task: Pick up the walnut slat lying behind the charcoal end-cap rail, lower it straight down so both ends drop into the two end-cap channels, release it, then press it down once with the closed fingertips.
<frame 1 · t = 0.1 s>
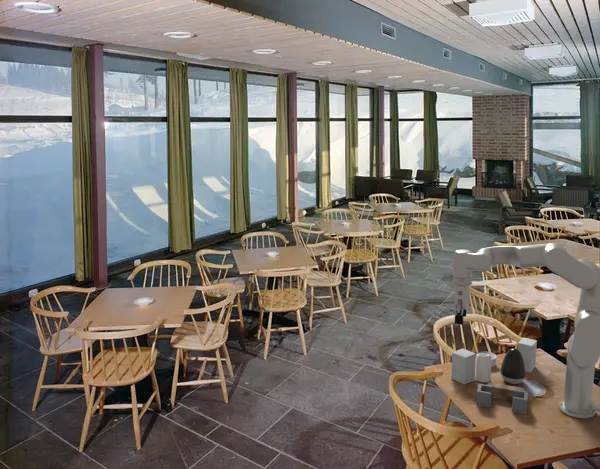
hand: (460, 320, 217), 31 cm above the table, fingers open, 9 cm apart
supplement box: (462, 379, 232), on the table
small box: (525, 368, 241), on the table
endcaps: (501, 405, 210), on the table
ramekin: (486, 364, 246), on the table
dark grey egg shape: (512, 381, 229), on the table
can: (482, 380, 231), on the table
slat: (505, 398, 215), on the table
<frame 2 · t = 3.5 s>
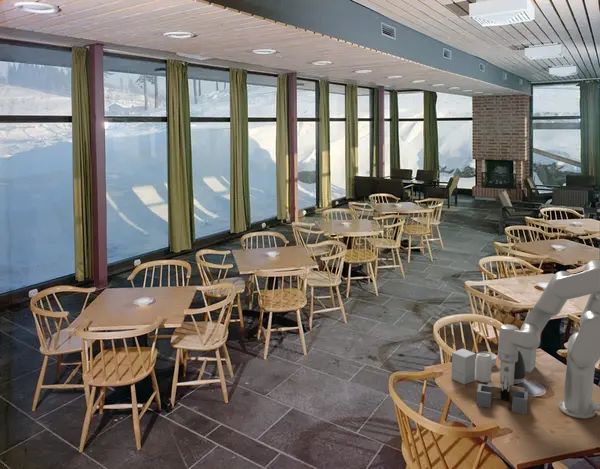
hand: (505, 396, 215), 0 cm above the table, fingers closed on slat, 3 cm apart
slat: (505, 397, 215), on the table, touching gripper
everything else where it was.
when the fingers open (2 cm above the table, at t = 7.3 s): slat stays where it is, on the table.
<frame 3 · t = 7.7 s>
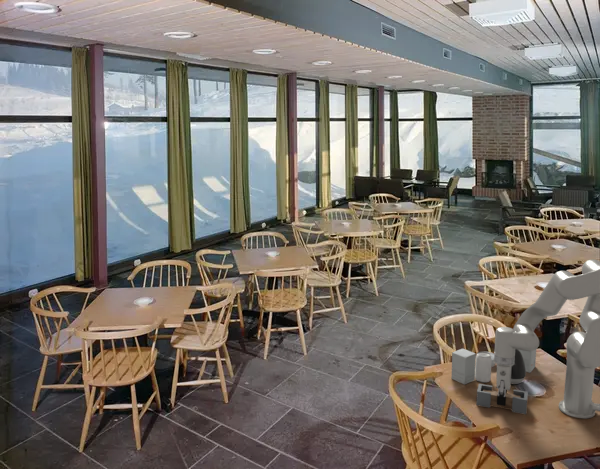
hand: (501, 399, 209), 2 cm above the table, fingers open, 7 cm apart
slat: (500, 405, 210), on the table
everything else where it was.
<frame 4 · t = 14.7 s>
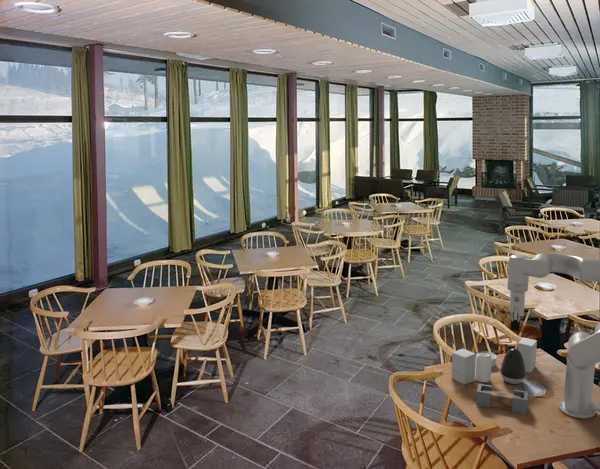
hand: (514, 329, 211), 29 cm above the table, fingers closed
nothing on the table moved.
at the end: slat 0.3 cm off-centre on the endcaps, point 0.0 cm above the endcaps's base; slat tilted 0°; the gripper is holding nothing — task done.
